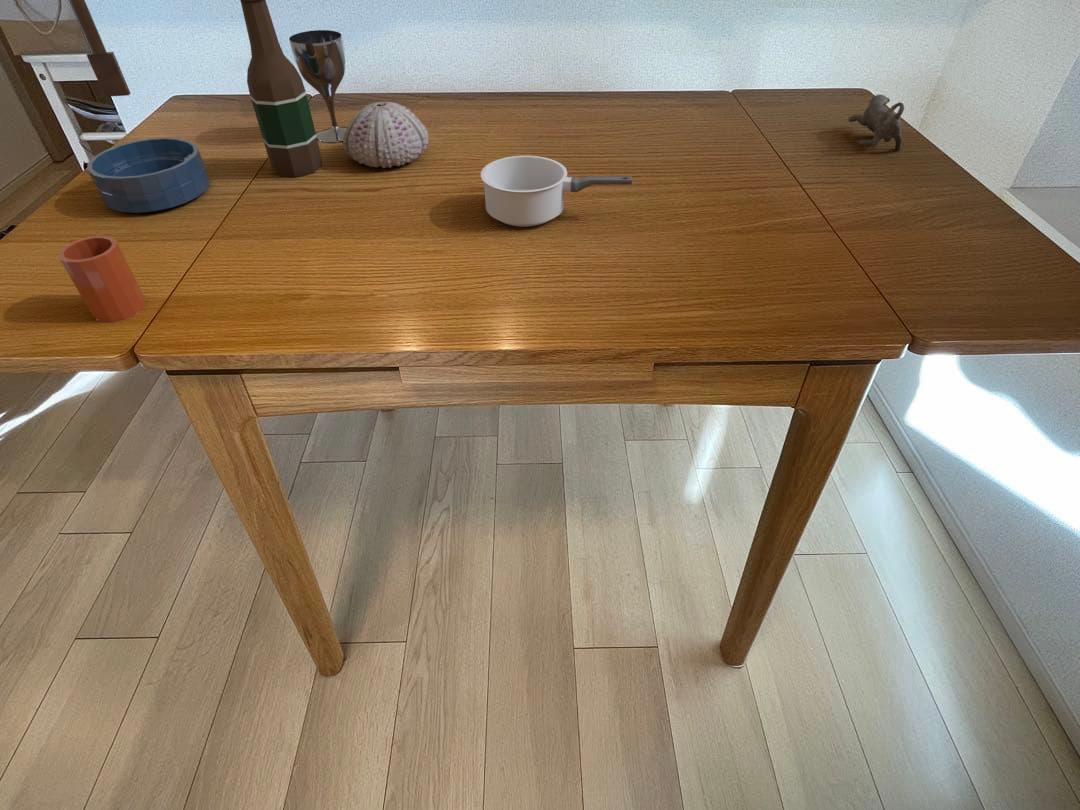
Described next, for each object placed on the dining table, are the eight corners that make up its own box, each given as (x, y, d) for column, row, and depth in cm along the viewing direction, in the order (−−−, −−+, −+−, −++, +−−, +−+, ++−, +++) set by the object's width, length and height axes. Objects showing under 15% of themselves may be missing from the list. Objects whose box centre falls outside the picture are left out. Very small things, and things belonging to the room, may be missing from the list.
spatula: (103, 98, 84) (17, -96, 71) (107, 93, 86) (23, -98, 72) (128, 96, 85) (46, -97, 71) (131, 92, 86) (52, -99, 72)
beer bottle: (274, 159, 104) (223, -17, 88) (324, 155, 105) (283, -20, 89) (269, 180, 98) (213, -4, 82) (322, 175, 99) (277, -8, 83)
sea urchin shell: (372, 181, 98) (362, 127, 92) (331, 154, 105) (320, 102, 100) (447, 158, 104) (441, 105, 98) (403, 134, 111) (395, 84, 106)
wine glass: (304, 141, 109) (279, 42, 99) (326, 124, 115) (304, 28, 105) (347, 145, 108) (326, 45, 98) (368, 127, 114) (350, 31, 103)
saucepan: (626, 238, 84) (630, 198, 81) (475, 229, 86) (472, 189, 83) (630, 199, 93) (633, 160, 89) (492, 191, 95) (489, 153, 91)
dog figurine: (905, 155, 103) (923, 105, 98) (868, 155, 103) (885, 106, 98) (877, 127, 112) (893, 80, 107) (843, 127, 112) (857, 80, 107)
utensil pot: (88, 328, 71) (49, 264, 66) (104, 300, 75) (70, 237, 70) (140, 324, 72) (106, 259, 66) (154, 296, 76) (123, 233, 70)
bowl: (91, 220, 89) (71, 181, 86) (123, 177, 100) (107, 140, 96) (199, 212, 91) (184, 174, 87) (220, 170, 101) (207, 134, 97)
